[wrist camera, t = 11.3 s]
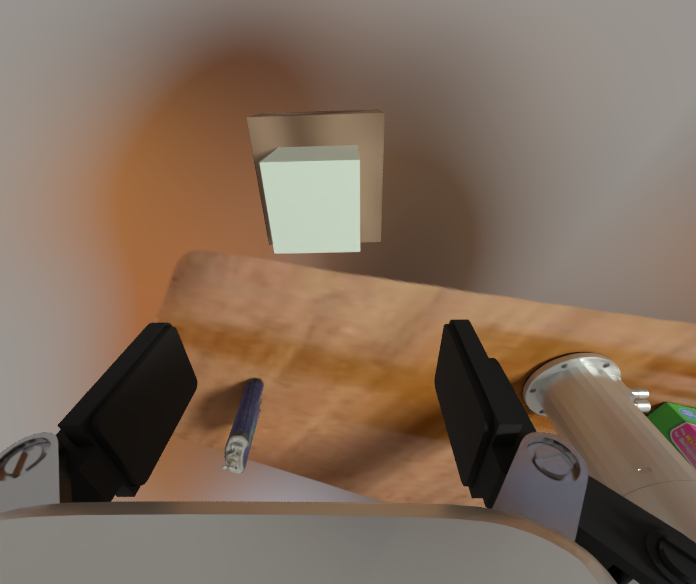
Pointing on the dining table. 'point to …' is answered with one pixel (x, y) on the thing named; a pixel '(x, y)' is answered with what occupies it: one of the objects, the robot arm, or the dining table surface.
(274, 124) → the walnut block
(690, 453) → the game box
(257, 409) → the flask
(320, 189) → the sage block
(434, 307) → the dining table surface
